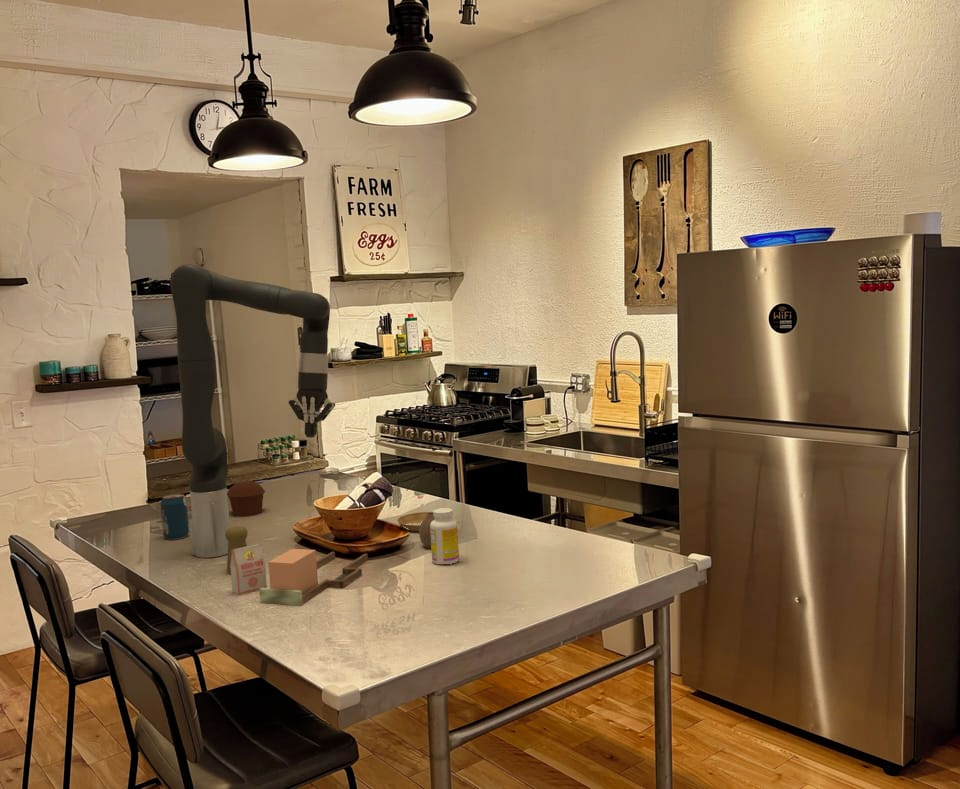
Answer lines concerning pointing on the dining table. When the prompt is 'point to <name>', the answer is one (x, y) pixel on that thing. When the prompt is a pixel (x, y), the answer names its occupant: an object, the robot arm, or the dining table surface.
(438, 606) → the dining table surface
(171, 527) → the soda can
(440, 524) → the supplement bottle
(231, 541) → the olive ball-topped cylinder
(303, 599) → the trap lane
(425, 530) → the vase
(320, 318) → the robot arm
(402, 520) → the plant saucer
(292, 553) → the terracotta block
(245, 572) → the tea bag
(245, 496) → the muffin
